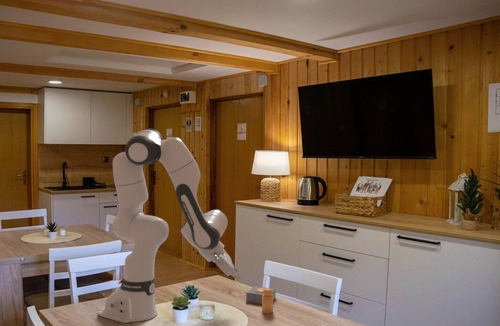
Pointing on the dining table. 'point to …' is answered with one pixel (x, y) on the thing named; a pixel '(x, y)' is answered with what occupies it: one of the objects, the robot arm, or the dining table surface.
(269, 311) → the orange bottle
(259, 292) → the grey square platform
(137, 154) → the robot arm
